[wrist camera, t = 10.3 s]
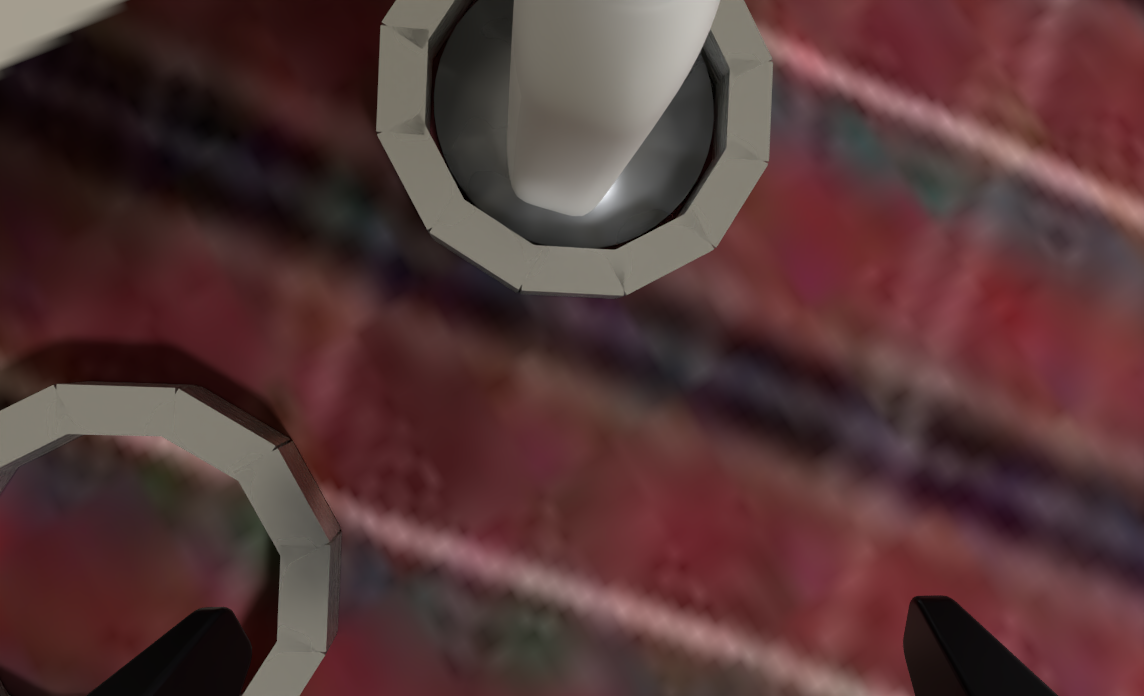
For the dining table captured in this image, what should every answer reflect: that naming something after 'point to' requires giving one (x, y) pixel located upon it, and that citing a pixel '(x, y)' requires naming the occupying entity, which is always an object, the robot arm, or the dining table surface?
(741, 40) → the collar
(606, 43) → the eye dropper bottle
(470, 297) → the dining table surface
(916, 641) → the robot arm
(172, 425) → the collar
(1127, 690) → the dining table surface
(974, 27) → the dining table surface
